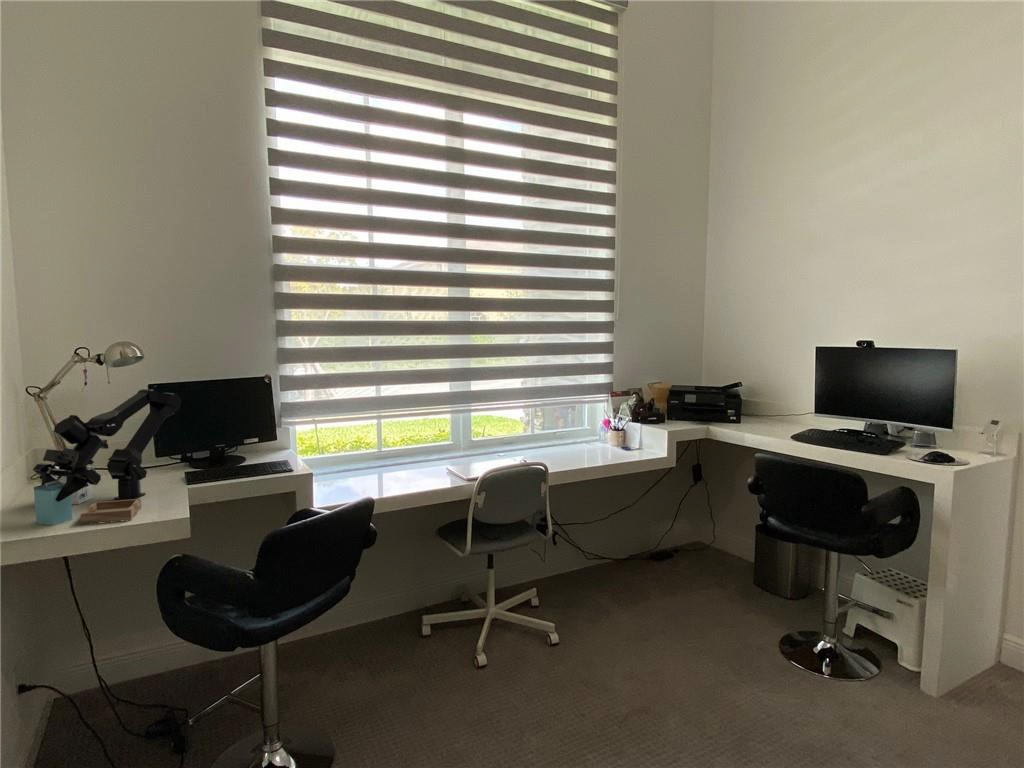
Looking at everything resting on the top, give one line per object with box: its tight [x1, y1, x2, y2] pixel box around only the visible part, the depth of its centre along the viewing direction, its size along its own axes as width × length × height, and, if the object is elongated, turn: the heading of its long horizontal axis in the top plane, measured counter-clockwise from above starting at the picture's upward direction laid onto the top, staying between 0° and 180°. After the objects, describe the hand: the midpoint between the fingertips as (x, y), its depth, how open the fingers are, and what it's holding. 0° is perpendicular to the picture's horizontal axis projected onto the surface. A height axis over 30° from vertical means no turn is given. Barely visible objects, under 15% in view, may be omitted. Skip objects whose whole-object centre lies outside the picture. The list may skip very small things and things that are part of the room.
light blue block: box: [33, 480, 73, 526], centre depth 165 cm, size 6×6×12 cm
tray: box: [79, 498, 142, 525], centre depth 171 cm, size 12×12×3 cm
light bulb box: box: [55, 465, 93, 505], centre depth 184 cm, size 11×7×11 cm, turn 92°
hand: (48, 500), depth 164 cm, fingers closed on light blue block, 6 cm apart
